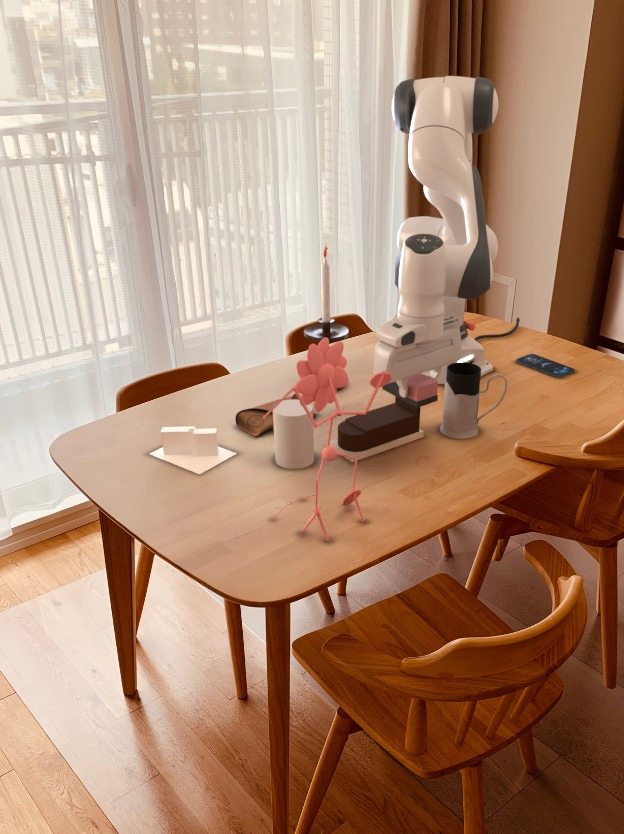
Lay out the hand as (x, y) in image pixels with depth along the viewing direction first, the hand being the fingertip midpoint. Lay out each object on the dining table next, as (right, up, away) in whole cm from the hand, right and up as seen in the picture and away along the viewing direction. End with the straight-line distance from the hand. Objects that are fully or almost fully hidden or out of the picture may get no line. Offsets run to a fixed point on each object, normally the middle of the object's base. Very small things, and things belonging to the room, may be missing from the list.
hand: (417, 391), depth 160 cm
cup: (-26, -13, +10) cm, 30 cm away
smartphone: (+37, +15, +56) cm, 69 cm away
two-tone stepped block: (-1, 0, +3) cm, 3 cm away
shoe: (-8, -9, +17) cm, 21 cm away
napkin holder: (-47, -12, +11) cm, 50 cm away
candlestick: (-21, +8, +43) cm, 48 cm away
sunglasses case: (-31, -3, +25) cm, 40 cm away
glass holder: (+13, -6, +23) cm, 27 cm away
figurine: (-18, -25, -9) cm, 33 cm away
